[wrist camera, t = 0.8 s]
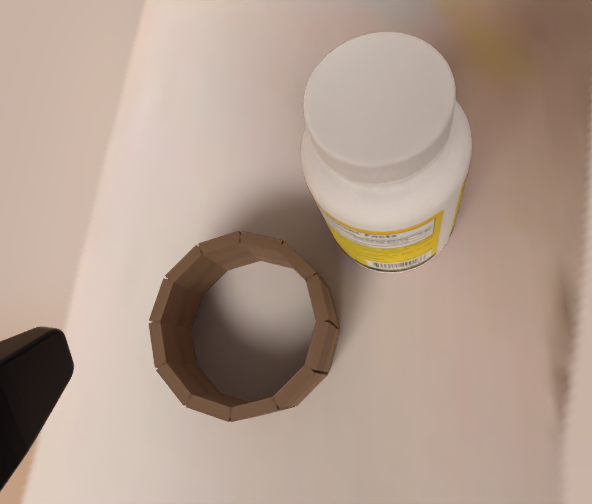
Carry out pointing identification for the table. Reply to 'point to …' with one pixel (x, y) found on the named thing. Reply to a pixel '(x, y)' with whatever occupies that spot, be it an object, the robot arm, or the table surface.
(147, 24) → the table surface
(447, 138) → the supplement bottle
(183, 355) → the holder
